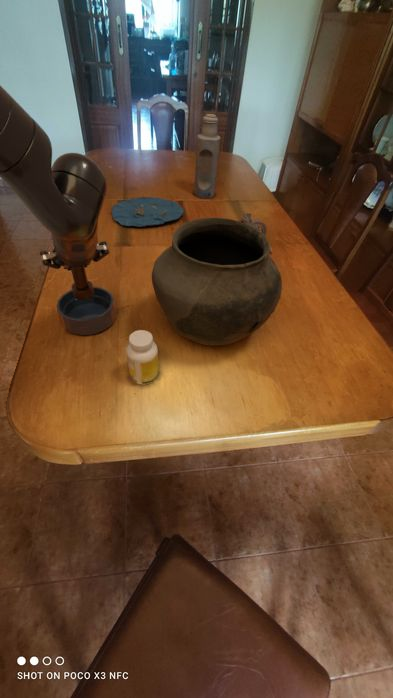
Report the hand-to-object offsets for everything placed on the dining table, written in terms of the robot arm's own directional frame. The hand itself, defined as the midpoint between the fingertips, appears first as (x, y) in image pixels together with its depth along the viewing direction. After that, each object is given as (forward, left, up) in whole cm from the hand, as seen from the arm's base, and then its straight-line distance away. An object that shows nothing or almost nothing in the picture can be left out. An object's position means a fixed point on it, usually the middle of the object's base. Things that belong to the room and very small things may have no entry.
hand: (76, 264), depth 73 cm
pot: (+29, -17, -15) cm, 37 cm away
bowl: (0, -2, -15) cm, 15 cm away
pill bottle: (+7, -25, -15) cm, 30 cm away
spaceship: (+65, +19, -15) cm, 69 cm away
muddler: (0, -2, -7) cm, 7 cm away
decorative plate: (+35, +53, -15) cm, 65 cm away
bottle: (+67, +65, -15) cm, 95 cm away
